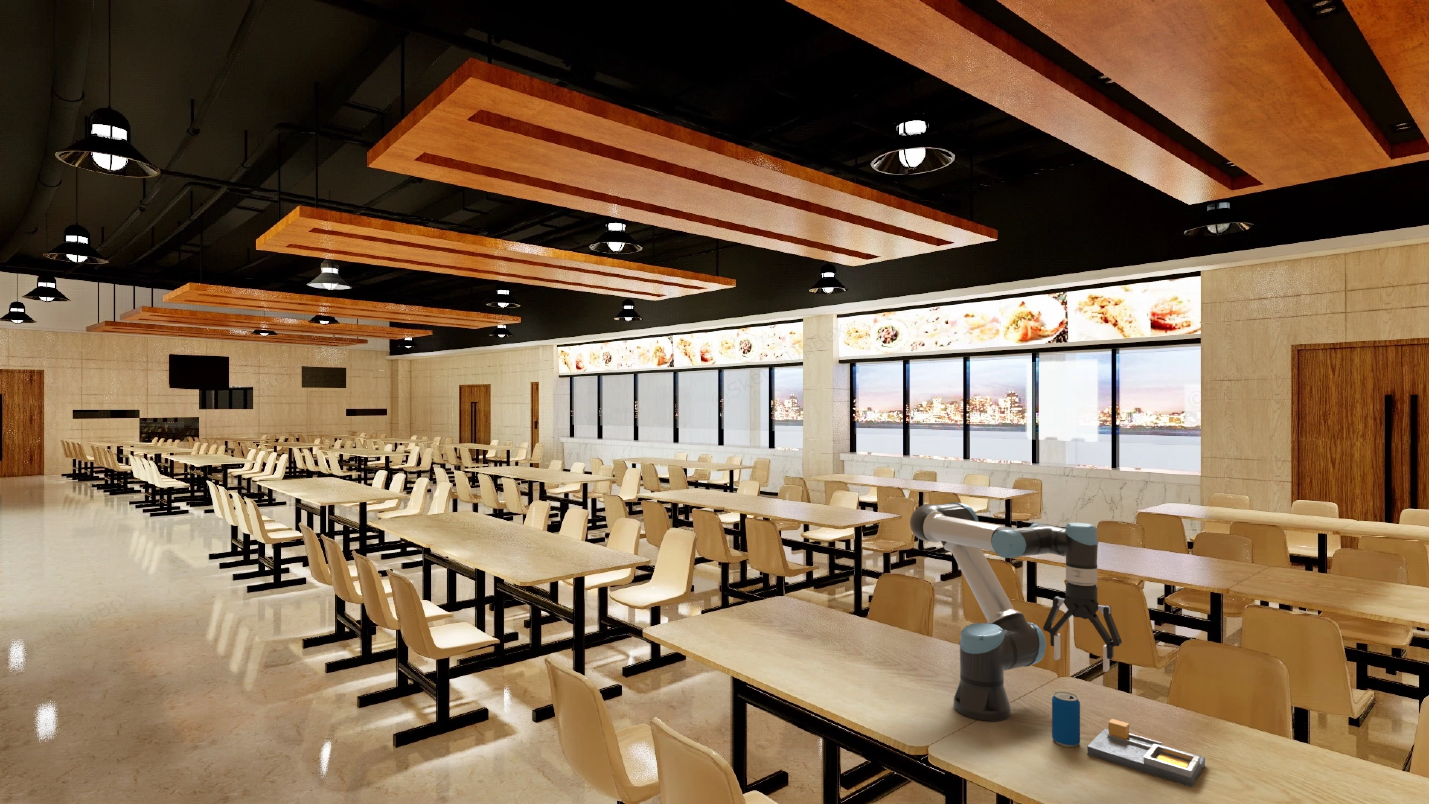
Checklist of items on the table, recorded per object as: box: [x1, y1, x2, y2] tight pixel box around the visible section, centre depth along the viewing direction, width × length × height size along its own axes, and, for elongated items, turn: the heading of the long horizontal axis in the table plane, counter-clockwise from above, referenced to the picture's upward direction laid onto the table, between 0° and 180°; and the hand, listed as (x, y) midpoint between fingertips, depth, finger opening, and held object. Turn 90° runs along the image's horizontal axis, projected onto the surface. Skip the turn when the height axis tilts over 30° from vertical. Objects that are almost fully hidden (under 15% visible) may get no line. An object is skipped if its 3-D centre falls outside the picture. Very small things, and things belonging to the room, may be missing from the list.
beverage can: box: [1051, 691, 1081, 748], centre depth 184 cm, size 6×6×12 cm
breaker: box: [1108, 718, 1130, 739], centre depth 183 cm, size 4×3×3 cm
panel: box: [1086, 728, 1206, 788], centre depth 175 cm, size 22×14×4 cm, turn 46°
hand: (1081, 664), depth 189 cm, fingers open, 11 cm apart
